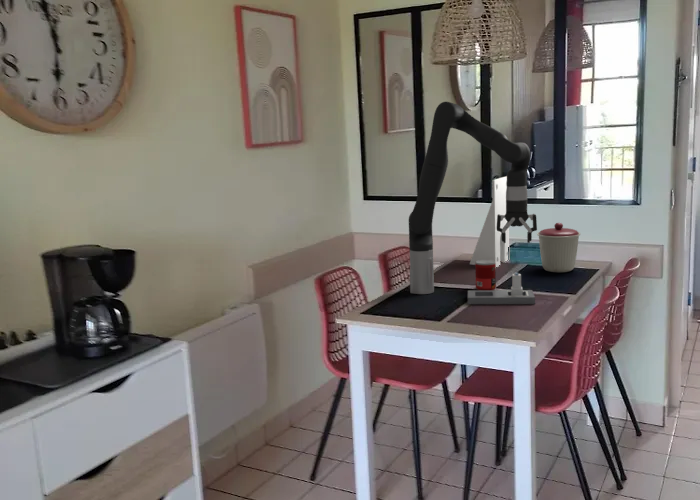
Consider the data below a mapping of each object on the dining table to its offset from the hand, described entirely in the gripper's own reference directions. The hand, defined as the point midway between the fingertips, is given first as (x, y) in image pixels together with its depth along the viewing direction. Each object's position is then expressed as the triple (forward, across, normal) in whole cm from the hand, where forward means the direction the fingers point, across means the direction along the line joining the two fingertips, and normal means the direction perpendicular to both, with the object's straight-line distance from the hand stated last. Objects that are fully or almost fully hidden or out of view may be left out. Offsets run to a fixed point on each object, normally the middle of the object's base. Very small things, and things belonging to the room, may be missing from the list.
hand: (516, 242), depth 253 cm
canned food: (+22, -11, +19) cm, 31 cm away
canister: (+22, +21, +52) cm, 60 cm away
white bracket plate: (+22, -9, +70) cm, 74 cm away
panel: (+22, -6, 0) cm, 23 cm away
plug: (+22, 0, +1) cm, 22 cm away
